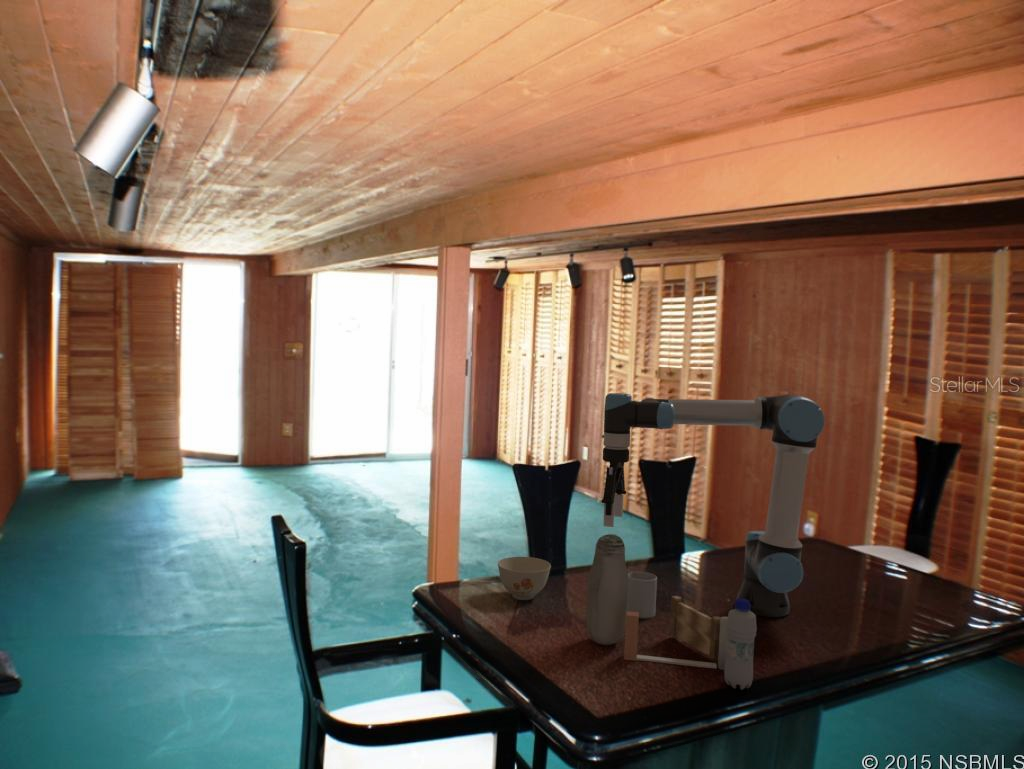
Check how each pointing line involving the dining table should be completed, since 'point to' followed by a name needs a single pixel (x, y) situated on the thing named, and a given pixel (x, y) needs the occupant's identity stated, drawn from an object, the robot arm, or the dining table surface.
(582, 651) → the dining table surface
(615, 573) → the white tapered flask
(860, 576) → the dining table surface
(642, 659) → the fence
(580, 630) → the dining table surface
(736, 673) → the bottle
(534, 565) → the bowl
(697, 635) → the gate
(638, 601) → the mug
